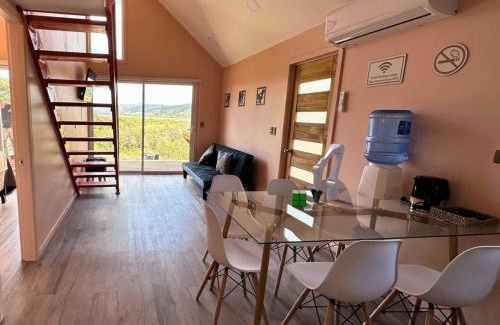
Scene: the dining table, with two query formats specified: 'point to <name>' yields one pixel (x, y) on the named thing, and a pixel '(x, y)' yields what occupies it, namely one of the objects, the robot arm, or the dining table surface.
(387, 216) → the dining table surface
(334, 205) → the board
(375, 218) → the dining table surface
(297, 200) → the puzzle cube
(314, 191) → the robot arm
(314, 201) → the pawn
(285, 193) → the dining table surface
